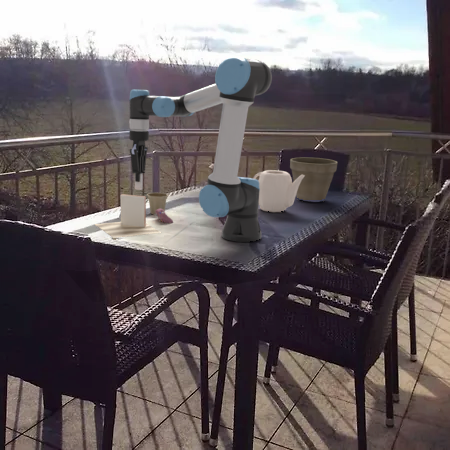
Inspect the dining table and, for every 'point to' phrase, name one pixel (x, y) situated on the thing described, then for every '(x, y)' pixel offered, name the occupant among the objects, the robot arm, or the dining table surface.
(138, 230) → the board
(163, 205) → the flower pot
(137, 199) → the tile
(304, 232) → the dining table surface
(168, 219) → the video game controller
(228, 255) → the dining table surface
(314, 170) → the plant pot
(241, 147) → the robot arm
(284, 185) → the watering can
